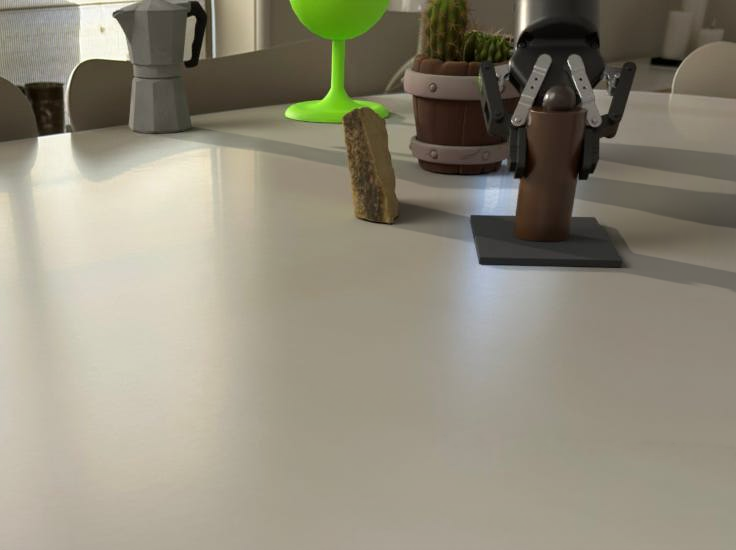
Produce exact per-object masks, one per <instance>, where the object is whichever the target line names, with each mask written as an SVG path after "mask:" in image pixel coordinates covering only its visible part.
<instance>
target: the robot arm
mask: <svg viewBox="0 0 736 550" xmlns="http://www.w3.org/2000/svg"><path fill="white" fill-rule="evenodd" d="M513 11H514V25H513V48H512V49H513V50H512V54H513V56H512V57H511V59H510V60H509V63H508V64H504V65H499V66H494V64H493V63H492V62H491V61H484V62H482V63H481V65H480V71H479V77H478V83H477V88H478V92H479V96H480V101H481V105H482V110H483V114H484V119H485V123H486V128H487V132H488V134H489V135H490V136H492V137H496V136H498V135H500V136H503V137H505V138H506V139H507V142H508V149H507V158H506V169H507V171H508V173H513V179H514V180H520V179H522V177H523V173H524V169H525V162H526V137H527V132H526V125H527V117H528V109H529V108H530V107H533V106H539V105H542V102H543V98H544V95H545V94H546V92H547V91H548V90H549V89H550V88H551V87H553V86H555V85H559V84H564V85H567V86H569V87H570V88H571V89H572V90H573V91H574V93H575V96H576V105H575V106H578V107H583V108H586V109H587V110H588V114H587V120H586V127H585V133H584V139H583V146H582V153H581V159H580V166H579V172H578V179H577V180H578V181H588V179H589V176H590V174H591V175H594V173H595V171H596V168H597V166H598V163H599V160H600V143H601V142H600V140H601V139H602V138H606V139H613V138H615V137H616V135H617V133H618V130H619V128H620V127H619V126H620V124H621V122H622V119H623V116H624V114H625V110H626V106H627V103H628V100H629V97H630V93H631V91H632V90H631V89H632V86H633V83H634V79H635V76H636V72H637V68H638V66H637V64H636V63H635V62H633V61H625V62H624V63H623V65H622V67H621V66H616V65H612V64H606V60H605V58H604V55H603V54H602V51H601V27H602V26H601V21H602V0H514V1H513ZM506 80H508V81H509V82H510V83H511V85H512V86H513V87H514V89H515V90H516V91H517V92H518V94H519V95H520V96H521V98H520V101H519V103H518V105H517V107H516V110H515V112H514V114H513V115H510V114H507V113H505V111H504V107H503V103H502V98H501V94H500V92H501V91H502V89H503V84H504V81H506ZM601 81H602V82H604V83H605V85H606V87H605V89H606V92H607V93H608V96H609V97H612V98H611V100H610V101H611V102H610V105H609V108H608V112H607V113H605V114H600V112H599V109H598V107H597V104H596V95H595V92H594V89H595V88H596V86H598V85H599V83H600V82H601Z"/></svg>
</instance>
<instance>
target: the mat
mask: <svg viewBox="0 0 736 550" xmlns="http://www.w3.org/2000/svg"><path fill="white" fill-rule="evenodd" d="M469 217H470V218H469V222H470V227H471V233H472V237H473V242H474V246H475V252H476V256H477V260H478V261H477V262H478V265H495V266H497V265H502V266H503V265H504V266H540V267H541V266H545V267H586V268H587V267H590V268H622V265H623V258H622V257H621V256H620V254H619V253H618V250H616V248H615V246H614V245H613V244H612V242H611V240H610V239H609V237H608V236H607V234H606V232H605V231H604V229H603V227H602V226H601V224H600V223H599V221H598V220H597V217H595V216H572V218H571V225H570V231H569V237H568V238H567V239H565V240H562V241H557V242H534V241H527V240H523V239H519V238H517V237H515V236H514V235H513V230H514V222H515V215H500V214H499V215H497V214H496V215H495V214H494V215H493V214H491V215H490V214H470V216H469Z"/></svg>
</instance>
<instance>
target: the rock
mask: <svg viewBox="0 0 736 550" xmlns="http://www.w3.org/2000/svg"><path fill="white" fill-rule="evenodd" d="M341 124H342V129H343V136H344V145H345V151H346V156H347V162H348V172H349V176H350V180H349V181H350V188H351V199H352V207H353V214H354V216H355V217H356V218H359V219H363V220H368V221H370V222H376V223H385V224H389V225H390V224H391V223H392V224H394V223H395V220H394V219H395V218H397V217H398V216H399V215H400V210H399V199H398V197H397V194H396V184H397V182H396V174H395V169H394V168H393V161H392V154H391V153H390V150H389V134H388V129H387V122H386V120H385V118H383V119H382V118H381V117H380V116H379V115H378V114H377V113H375V112H374V111H373V110H372V109H371V108H369V107H362V108H361V109H358V108H356V109H354V110H352V111H351V112H348V113H347V114H345V115H344V116H343V117H342V123H341ZM392 224H391V225H392Z"/></svg>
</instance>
